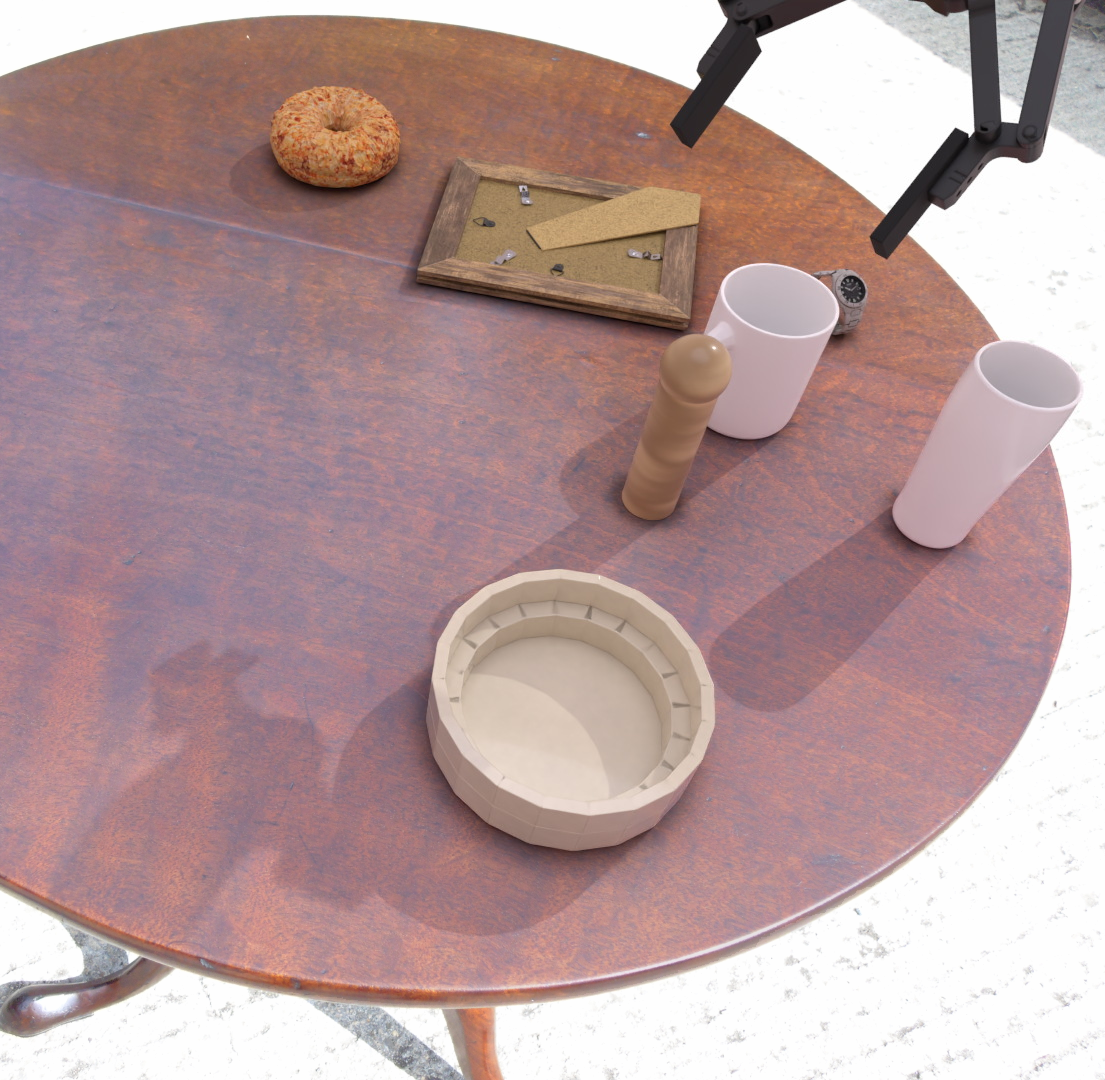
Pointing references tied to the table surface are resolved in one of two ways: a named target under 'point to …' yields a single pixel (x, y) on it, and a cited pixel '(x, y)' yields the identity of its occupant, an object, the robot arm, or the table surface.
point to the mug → (768, 344)
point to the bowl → (568, 708)
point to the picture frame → (565, 242)
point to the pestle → (676, 423)
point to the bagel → (334, 137)
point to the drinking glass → (985, 439)
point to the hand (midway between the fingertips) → (773, 190)
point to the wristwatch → (847, 297)
